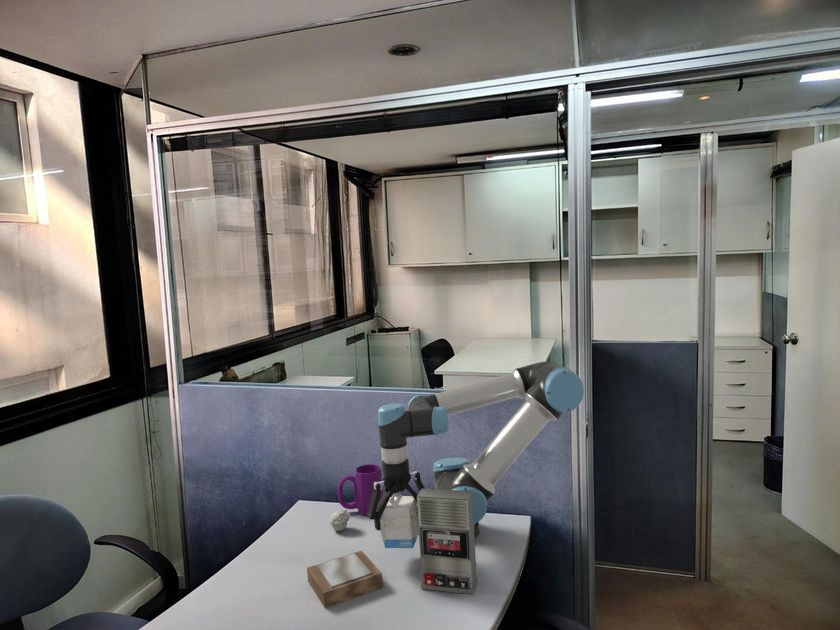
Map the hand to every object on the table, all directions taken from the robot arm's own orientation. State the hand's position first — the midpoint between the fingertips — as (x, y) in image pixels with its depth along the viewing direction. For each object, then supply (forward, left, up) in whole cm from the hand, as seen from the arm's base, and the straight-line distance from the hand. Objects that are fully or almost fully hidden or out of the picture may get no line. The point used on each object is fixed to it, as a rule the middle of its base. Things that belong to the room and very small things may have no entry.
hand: (401, 533), depth 160 cm
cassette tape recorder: (-4, +18, -8) cm, 21 cm away
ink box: (0, 0, -2) cm, 2 cm away
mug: (-3, -37, -8) cm, 38 cm away
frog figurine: (+8, -28, -8) cm, 31 cm away
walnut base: (+18, +2, -8) cm, 20 cm away
